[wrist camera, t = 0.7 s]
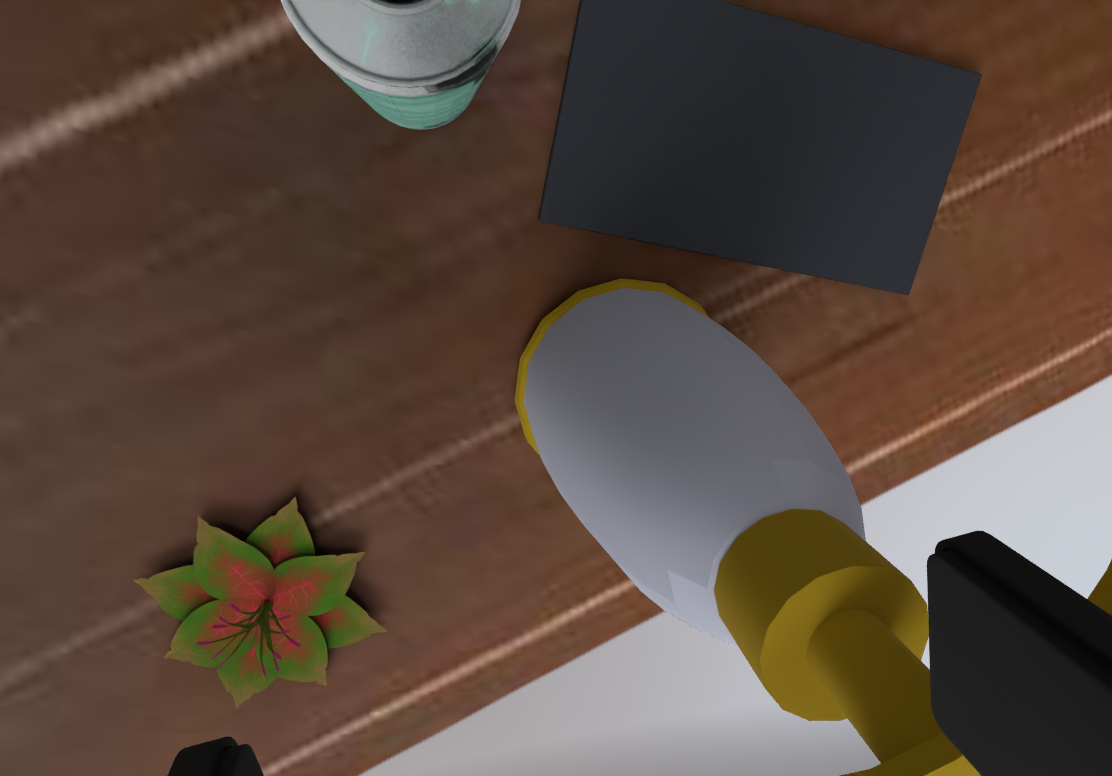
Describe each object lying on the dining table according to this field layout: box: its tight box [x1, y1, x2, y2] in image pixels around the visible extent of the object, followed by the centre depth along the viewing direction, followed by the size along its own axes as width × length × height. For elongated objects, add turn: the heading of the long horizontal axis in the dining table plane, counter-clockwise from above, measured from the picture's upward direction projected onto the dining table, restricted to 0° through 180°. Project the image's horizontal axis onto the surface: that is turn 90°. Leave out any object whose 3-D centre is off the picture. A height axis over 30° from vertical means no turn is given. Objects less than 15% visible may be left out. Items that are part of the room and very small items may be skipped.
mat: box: [538, 0, 982, 295], centre depth 35 cm, size 11×20×1 cm, turn 78°
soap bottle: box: [515, 278, 1112, 776], centre depth 25 cm, size 11×12×26 cm
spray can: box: [281, 0, 521, 130], centre depth 22 cm, size 6×6×20 cm
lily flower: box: [133, 497, 387, 708], centre depth 36 cm, size 12×12×5 cm
